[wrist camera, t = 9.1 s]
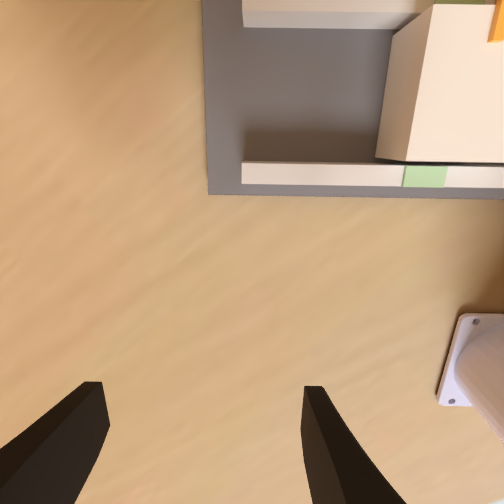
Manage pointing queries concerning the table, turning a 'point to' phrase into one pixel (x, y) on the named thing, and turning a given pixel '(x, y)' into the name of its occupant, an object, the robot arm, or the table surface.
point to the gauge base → (315, 102)
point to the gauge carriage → (446, 87)
